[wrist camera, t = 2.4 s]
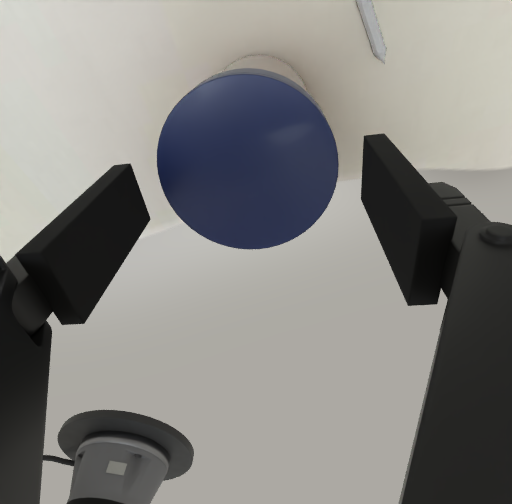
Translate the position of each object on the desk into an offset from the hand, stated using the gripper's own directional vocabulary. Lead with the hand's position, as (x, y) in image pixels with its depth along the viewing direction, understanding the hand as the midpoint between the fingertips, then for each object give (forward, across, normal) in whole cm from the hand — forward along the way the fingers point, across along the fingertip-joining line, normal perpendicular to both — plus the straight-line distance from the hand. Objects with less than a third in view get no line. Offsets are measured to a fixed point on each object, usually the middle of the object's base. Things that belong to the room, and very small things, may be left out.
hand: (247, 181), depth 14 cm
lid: (+1, 0, 0) cm, 1 cm away
